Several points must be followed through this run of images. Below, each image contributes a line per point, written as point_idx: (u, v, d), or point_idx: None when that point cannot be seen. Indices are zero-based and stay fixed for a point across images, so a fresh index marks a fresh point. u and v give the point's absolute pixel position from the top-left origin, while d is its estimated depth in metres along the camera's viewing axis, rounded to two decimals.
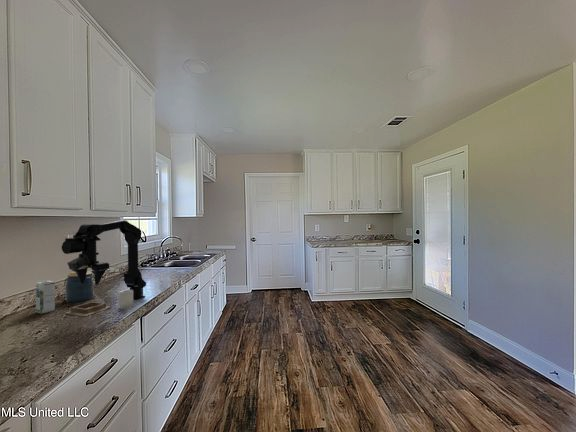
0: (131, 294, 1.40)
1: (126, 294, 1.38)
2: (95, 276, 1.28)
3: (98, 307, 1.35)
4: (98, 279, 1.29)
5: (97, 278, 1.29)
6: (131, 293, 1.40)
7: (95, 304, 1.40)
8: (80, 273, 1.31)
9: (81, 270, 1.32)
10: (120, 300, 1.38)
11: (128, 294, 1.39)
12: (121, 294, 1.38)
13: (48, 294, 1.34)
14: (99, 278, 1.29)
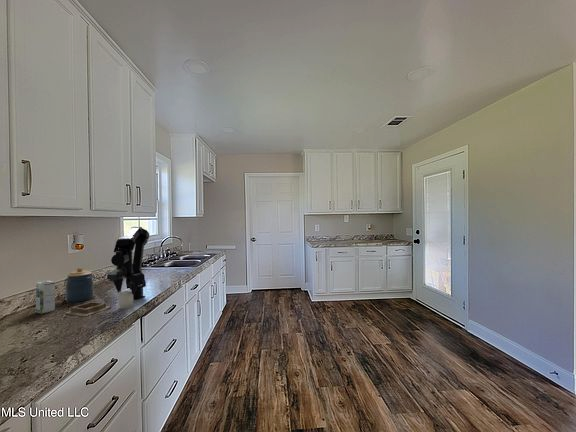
0: (131, 294, 1.40)
1: (126, 294, 1.38)
2: (132, 286, 1.38)
3: (98, 307, 1.35)
4: (134, 289, 1.40)
5: (134, 288, 1.39)
6: (131, 293, 1.40)
7: (95, 304, 1.40)
8: (117, 283, 1.42)
9: (118, 280, 1.42)
10: (120, 300, 1.38)
11: (128, 294, 1.39)
12: (121, 294, 1.38)
13: (48, 294, 1.34)
14: (135, 288, 1.40)
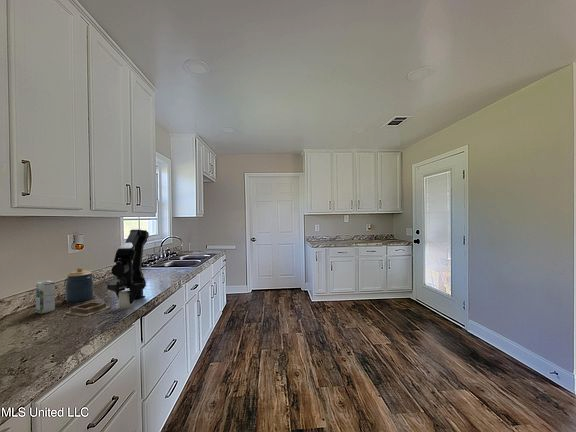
0: None
1: (126, 294, 1.38)
2: (130, 296, 1.38)
3: (98, 307, 1.35)
4: (133, 299, 1.40)
5: (132, 297, 1.39)
6: None
7: (95, 304, 1.40)
8: None
9: (120, 290, 1.42)
10: (120, 300, 1.38)
11: (128, 294, 1.39)
12: (121, 294, 1.38)
13: (48, 294, 1.34)
14: (133, 297, 1.40)
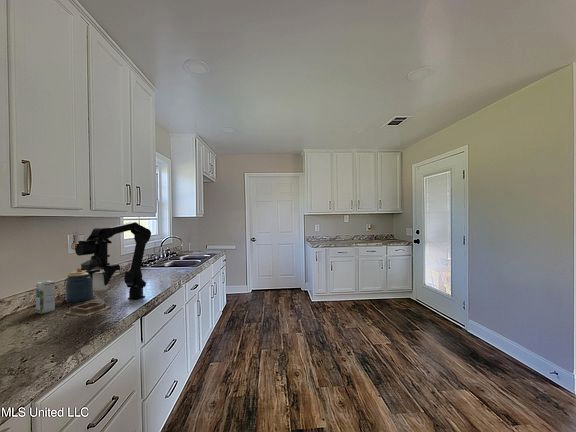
0: None
1: (100, 275, 1.34)
2: (105, 277, 1.35)
3: (98, 307, 1.35)
4: (107, 280, 1.36)
5: (107, 279, 1.36)
6: None
7: (95, 304, 1.40)
8: None
9: (94, 272, 1.38)
10: (94, 281, 1.34)
11: (103, 275, 1.35)
12: (95, 275, 1.34)
13: (48, 294, 1.34)
14: (108, 279, 1.36)
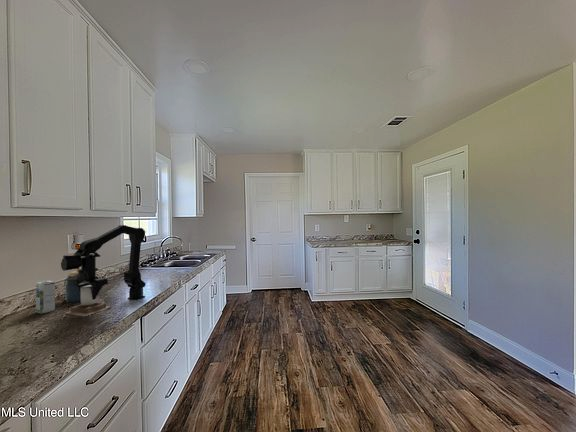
0: None
1: (88, 289, 1.33)
2: (92, 291, 1.33)
3: (98, 307, 1.35)
4: (95, 294, 1.35)
5: (94, 293, 1.34)
6: None
7: (95, 304, 1.40)
8: None
9: (82, 285, 1.37)
10: (82, 296, 1.33)
11: (90, 289, 1.34)
12: (83, 290, 1.32)
13: (48, 294, 1.34)
14: (96, 293, 1.35)
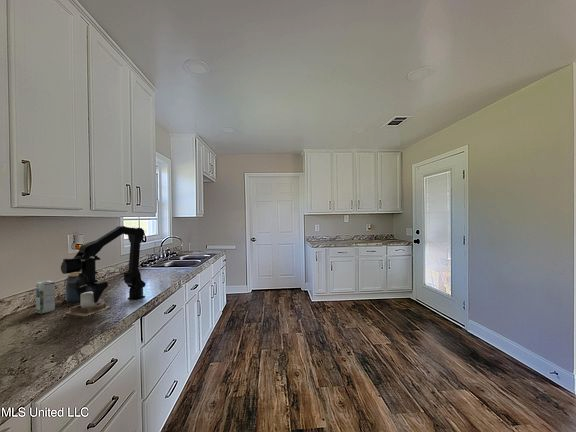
0: None
1: (88, 296, 1.33)
2: (94, 295, 1.33)
3: (98, 307, 1.35)
4: (97, 298, 1.34)
5: (96, 297, 1.34)
6: None
7: None
8: (80, 291, 1.36)
9: (81, 288, 1.37)
10: (82, 302, 1.33)
11: (90, 296, 1.34)
12: (83, 296, 1.32)
13: (48, 294, 1.34)
14: (98, 296, 1.34)
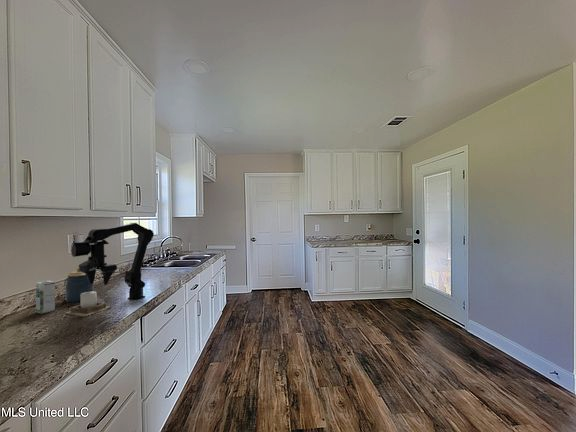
0: (94, 296, 1.35)
1: (88, 296, 1.33)
2: (104, 277, 1.38)
3: (98, 307, 1.35)
4: (107, 280, 1.40)
5: (106, 279, 1.39)
6: (94, 295, 1.35)
7: None
8: (89, 274, 1.42)
9: (90, 271, 1.42)
10: (82, 302, 1.33)
11: (90, 296, 1.34)
12: (83, 296, 1.32)
13: (48, 294, 1.34)
14: (108, 279, 1.40)
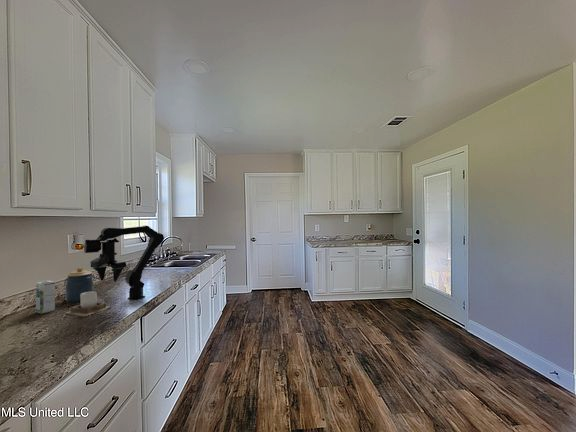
0: (94, 296, 1.35)
1: (88, 296, 1.33)
2: (114, 273, 1.44)
3: (98, 307, 1.35)
4: (117, 277, 1.46)
5: (116, 275, 1.45)
6: (94, 295, 1.35)
7: None
8: (100, 271, 1.48)
9: (101, 268, 1.48)
10: (82, 302, 1.33)
11: (90, 296, 1.34)
12: (83, 296, 1.32)
13: (48, 294, 1.34)
14: (117, 275, 1.46)
